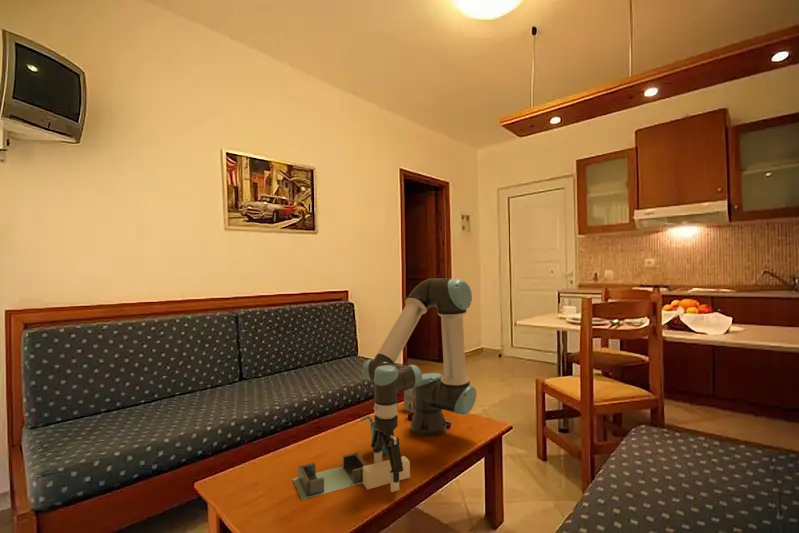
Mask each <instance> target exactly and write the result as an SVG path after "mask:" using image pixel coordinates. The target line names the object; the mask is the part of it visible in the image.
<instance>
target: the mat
mask: <svg viewBox="0 0 799 533" xmlns="http://www.w3.org/2000/svg"><path fill="white" fill-rule="evenodd" d="M316 476H317V478H322V477H323V478H324V492H322V493H319V494H315V495H311V496H308V497H307V496H306V494H305V492H304V490H303V488H302V485H301V483H300V481H299V479H298V476H297V477H294V478H292V481H293V483H294V486H295V488H296V490H297V492H298V494H299V497H300V499H301V501H303V500H306V499H309V498H313V497H317V496H321V495H324V494H329V493H332V492H335V491H340V490H342V489H343V490H344V489H348V488H350V487H354V486H357V485H361V484H363V482H359V483H355V484H354V483H353V482H352V480H351V479H350V477H349V476H348V474H347V473H346V472H345V470H344V469H343V465H342V466H339V467H338V466H337V467H335V468H330V469H326V470H322V471H318V472H316Z"/></svg>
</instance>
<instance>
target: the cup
mask: <svg viewBox="0 0 799 533" xmlns="http://www.w3.org/2000/svg"><path fill="white" fill-rule="evenodd" d="M368 419H369V428H370V435H371V439H372V438H373V433H374V421H373V420H372V417H371V416H370V415H367V416H364V417H363V418H361V419H360V422H363V421H366V420H368ZM374 444H375V443H374ZM381 451H382V456H384V455H386V454H388V453H387V450H386V449H385V447H384V445H383V447H382V450H381ZM372 452H373V455H374V451H373V450H372Z"/></svg>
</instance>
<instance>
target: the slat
mask: <svg viewBox="0 0 799 533" xmlns="http://www.w3.org/2000/svg"><path fill="white" fill-rule="evenodd" d="M401 459H402V465H403V471H402V472H399V482H400V481H403V480H406V479H410V478H411V461H410V460H409V459H408V458H407V457H406V456H404V455H401ZM391 470H392V469H391V465H390V461H389V459H387V460H382V462H378V463H374V462H373V463H372V464H371V463H370V464H367V466H363V483H362V484H363V486H365V489H366V490H367V491H368V490H370V489H374V488H375V489H376V488H378V487H382V486H385V485H389V484H390V471H391Z"/></svg>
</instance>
